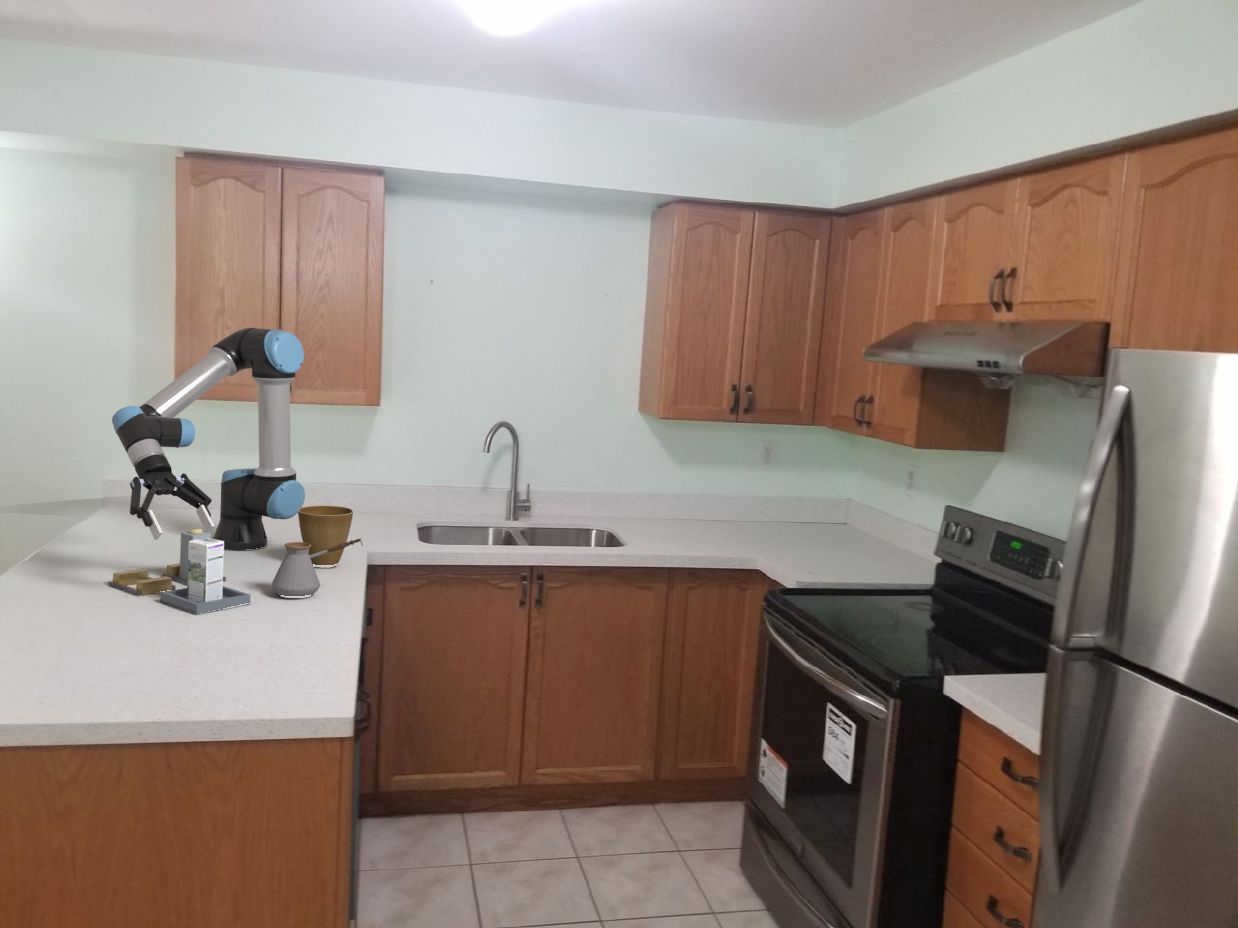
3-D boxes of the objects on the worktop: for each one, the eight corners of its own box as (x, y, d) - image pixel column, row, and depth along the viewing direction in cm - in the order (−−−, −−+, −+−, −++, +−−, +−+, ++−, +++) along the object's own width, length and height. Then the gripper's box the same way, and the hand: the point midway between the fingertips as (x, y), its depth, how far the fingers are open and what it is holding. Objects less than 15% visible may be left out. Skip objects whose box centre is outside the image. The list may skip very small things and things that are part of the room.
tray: (213, 592, 242) (214, 583, 242) (250, 604, 234) (250, 594, 234) (160, 602, 230) (160, 592, 230) (196, 615, 223) (197, 604, 223)
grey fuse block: (197, 576, 256) (199, 526, 255) (209, 579, 254) (210, 530, 252) (179, 578, 252) (181, 528, 251) (191, 582, 249) (193, 532, 248)
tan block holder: (146, 579, 249) (146, 568, 248) (175, 589, 242) (175, 577, 242) (108, 585, 241) (109, 573, 240) (137, 595, 234) (138, 583, 234)
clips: (196, 571, 260) (197, 560, 260) (225, 581, 254) (226, 569, 253) (162, 577, 252) (162, 565, 252) (191, 586, 246) (192, 575, 245)
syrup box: (223, 600, 234) (225, 540, 232) (204, 605, 228) (207, 544, 227) (204, 596, 236) (206, 536, 234) (185, 601, 230) (187, 540, 229)
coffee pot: (268, 600, 239) (271, 540, 237) (273, 589, 250) (276, 530, 248) (359, 602, 244) (363, 543, 242) (360, 591, 255) (363, 533, 253)
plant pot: (312, 557, 287) (314, 503, 285) (359, 563, 284) (362, 509, 283) (284, 567, 273) (287, 510, 271) (334, 574, 270) (337, 516, 268)
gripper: (189, 468, 254) (224, 535, 248) (93, 474, 233) (128, 548, 227) (202, 450, 251) (238, 518, 245) (106, 455, 230) (142, 529, 224)
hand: (185, 532), depth 236 cm, fingers open, 13 cm apart
